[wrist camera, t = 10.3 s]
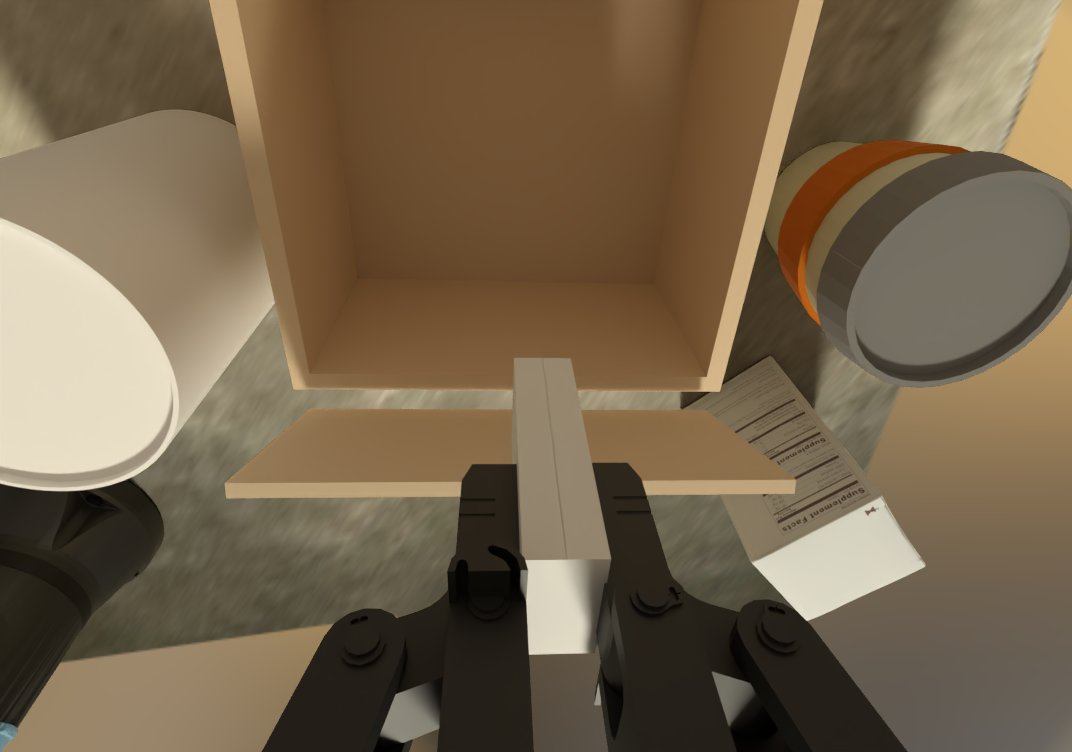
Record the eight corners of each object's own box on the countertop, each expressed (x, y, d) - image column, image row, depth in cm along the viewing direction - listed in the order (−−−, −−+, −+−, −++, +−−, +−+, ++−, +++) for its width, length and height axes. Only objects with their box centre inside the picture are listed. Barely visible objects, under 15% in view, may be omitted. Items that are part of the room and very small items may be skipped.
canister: (137, 60, 35) (-199, 110, 18) (342, 195, 40) (229, 334, 23) (73, 235, 40) (-233, 400, 23) (260, 335, 45) (120, 530, 28)
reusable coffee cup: (913, 250, 44) (1078, 347, 32) (753, 307, 46) (849, 419, 34) (910, 81, 38) (1117, 119, 25) (724, 155, 40) (830, 224, 27)
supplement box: (677, 409, 51) (746, 561, 37) (770, 351, 49) (882, 492, 35) (727, 469, 56) (806, 626, 42) (815, 419, 53) (932, 569, 39)
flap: (309, 408, 31) (309, 419, 31) (224, 483, 21) (226, 498, 21) (706, 410, 33) (705, 420, 33) (796, 479, 23) (794, 493, 23)
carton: (348, 285, 43) (293, 389, 31) (296, -88, 31) (177, -145, 20) (661, 291, 45) (719, 391, 33) (724, -60, 33) (849, -97, 21)
